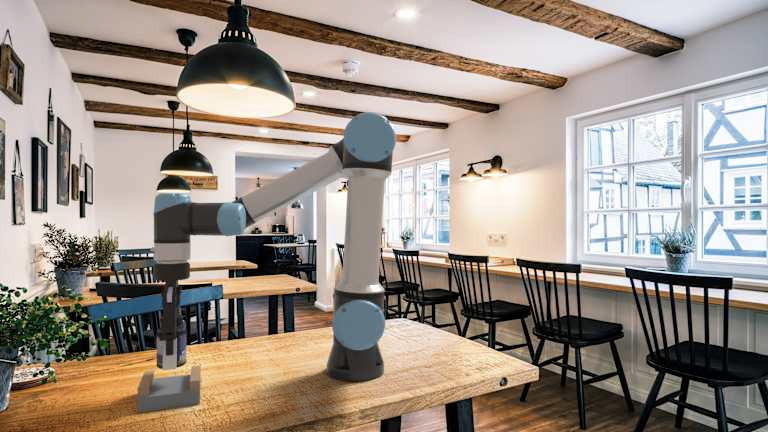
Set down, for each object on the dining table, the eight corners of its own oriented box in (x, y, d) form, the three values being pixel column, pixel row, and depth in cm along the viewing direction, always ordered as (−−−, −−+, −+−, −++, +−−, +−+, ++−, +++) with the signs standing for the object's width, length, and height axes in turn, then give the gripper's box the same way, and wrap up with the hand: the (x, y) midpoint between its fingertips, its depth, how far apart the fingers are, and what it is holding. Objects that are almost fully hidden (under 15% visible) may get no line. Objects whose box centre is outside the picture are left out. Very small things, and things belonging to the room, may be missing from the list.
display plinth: (200, 385, 109) (200, 364, 109) (199, 404, 98) (199, 381, 98) (144, 392, 105) (145, 370, 105) (137, 412, 94) (137, 388, 94)
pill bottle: (178, 359, 106) (178, 312, 106) (191, 364, 102) (191, 315, 102) (151, 366, 101) (151, 316, 101) (163, 371, 97) (164, 320, 98)
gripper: (157, 258, 110) (156, 354, 109) (148, 266, 92) (146, 380, 91) (191, 258, 112) (190, 351, 112) (188, 265, 94) (187, 376, 94)
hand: (170, 364), depth 102 cm, fingers closed on pill bottle, 6 cm apart
